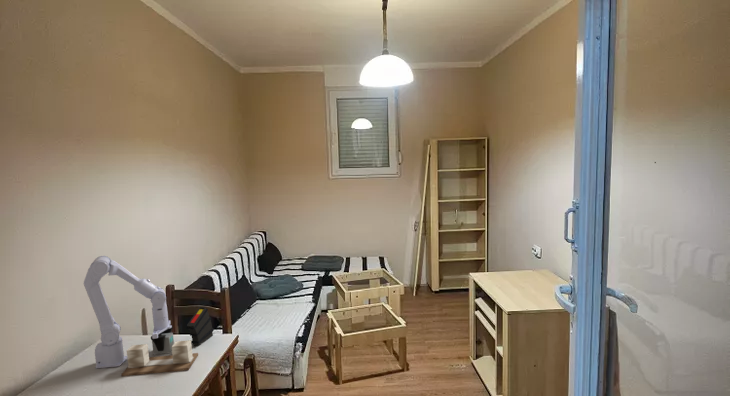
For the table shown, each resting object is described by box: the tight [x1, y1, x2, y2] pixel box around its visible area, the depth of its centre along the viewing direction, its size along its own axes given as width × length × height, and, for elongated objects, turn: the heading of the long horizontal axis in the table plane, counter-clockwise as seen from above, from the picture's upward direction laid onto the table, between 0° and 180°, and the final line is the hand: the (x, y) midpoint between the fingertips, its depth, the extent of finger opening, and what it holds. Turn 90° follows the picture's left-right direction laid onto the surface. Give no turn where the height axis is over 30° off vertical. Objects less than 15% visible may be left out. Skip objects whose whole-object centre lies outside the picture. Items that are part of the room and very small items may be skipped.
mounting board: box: [120, 339, 199, 377], centre depth 163 cm, size 25×12×8 cm, turn 95°
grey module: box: [151, 332, 175, 355], centre depth 176 cm, size 7×4×7 cm, turn 95°
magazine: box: [186, 306, 215, 347], centre depth 183 cm, size 4×13×15 cm, turn 166°
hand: (163, 347), depth 176 cm, fingers open, 6 cm apart
